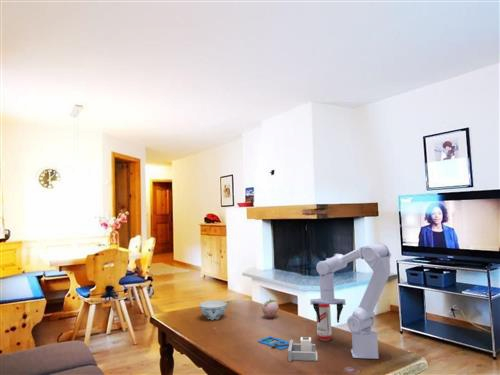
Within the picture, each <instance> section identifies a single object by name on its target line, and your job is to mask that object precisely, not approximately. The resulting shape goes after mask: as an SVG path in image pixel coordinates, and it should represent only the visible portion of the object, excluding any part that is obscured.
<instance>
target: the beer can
mask: <svg viewBox="0 0 500 375" xmlns="http://www.w3.org/2000/svg"><path fill="white" fill-rule="evenodd" d="M319 313H320V322H319V321H318V317H317V314H315V315H316V335H317V336H316V337H317V338H318V339H319V340H320V341H325V342H327V341H330V340H331V339H332V337H333V335H332V334H333V333H332V332H333V331H332V313H331V304H319Z"/></svg>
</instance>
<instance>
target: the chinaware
mask: <svg viewBox="0 0 500 375" xmlns="http://www.w3.org/2000/svg"><path fill="white" fill-rule="evenodd" d="M227 306H228V303H227V301H226V300H225V301H223V300H207V301H203V302H200V304H199V307H200V311H201V313H202V315H204V316H205V318H207V320H209V319H211V321H215V320H214V319H216V320H220V318H221V316H222V315H224V313H225V311H226V309H227Z"/></svg>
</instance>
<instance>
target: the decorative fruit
mask: <svg viewBox="0 0 500 375" xmlns="http://www.w3.org/2000/svg"><path fill="white" fill-rule="evenodd" d="M279 308H280V307H279V305H278V303H277V300H275V299H269V300H267V301H264V302H263V304H262V306H261V309H262V313H263V314H264V315H265V316H266V317H268V318H270V319H271V318H273V317H275V316H276V314H278V311H279Z"/></svg>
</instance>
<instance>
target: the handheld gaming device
mask: <svg viewBox="0 0 500 375" xmlns="http://www.w3.org/2000/svg"><path fill="white" fill-rule="evenodd" d="M257 343H259V344H261V345H265V346H267V347H268V346H269V347H271V346H273V345H283V344H289V343H290V341H288V340H284V339H281V338H277V337H275V336H272V335H271V336H270V335H268V336H267V337H264V338H261V339H258V340H257ZM288 348H289V346H282V347H276V348H275V349H276V350H280V351H284V350H288Z"/></svg>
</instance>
